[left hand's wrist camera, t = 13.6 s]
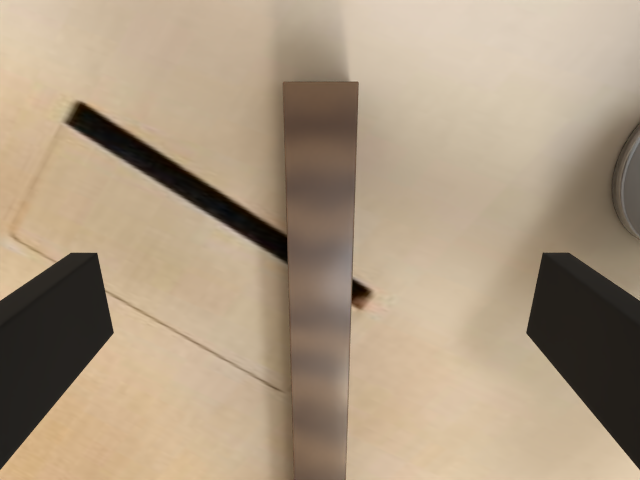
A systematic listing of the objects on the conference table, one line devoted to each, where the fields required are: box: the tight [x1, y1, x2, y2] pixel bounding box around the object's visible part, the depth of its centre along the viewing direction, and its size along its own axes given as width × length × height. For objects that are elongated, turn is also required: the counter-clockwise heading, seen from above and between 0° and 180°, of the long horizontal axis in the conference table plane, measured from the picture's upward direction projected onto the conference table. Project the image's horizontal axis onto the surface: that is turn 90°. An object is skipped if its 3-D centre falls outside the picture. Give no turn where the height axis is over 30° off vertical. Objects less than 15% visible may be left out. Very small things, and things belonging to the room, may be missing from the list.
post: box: [283, 82, 359, 480], centre depth 45 cm, size 80×5×8 cm, turn 0°
